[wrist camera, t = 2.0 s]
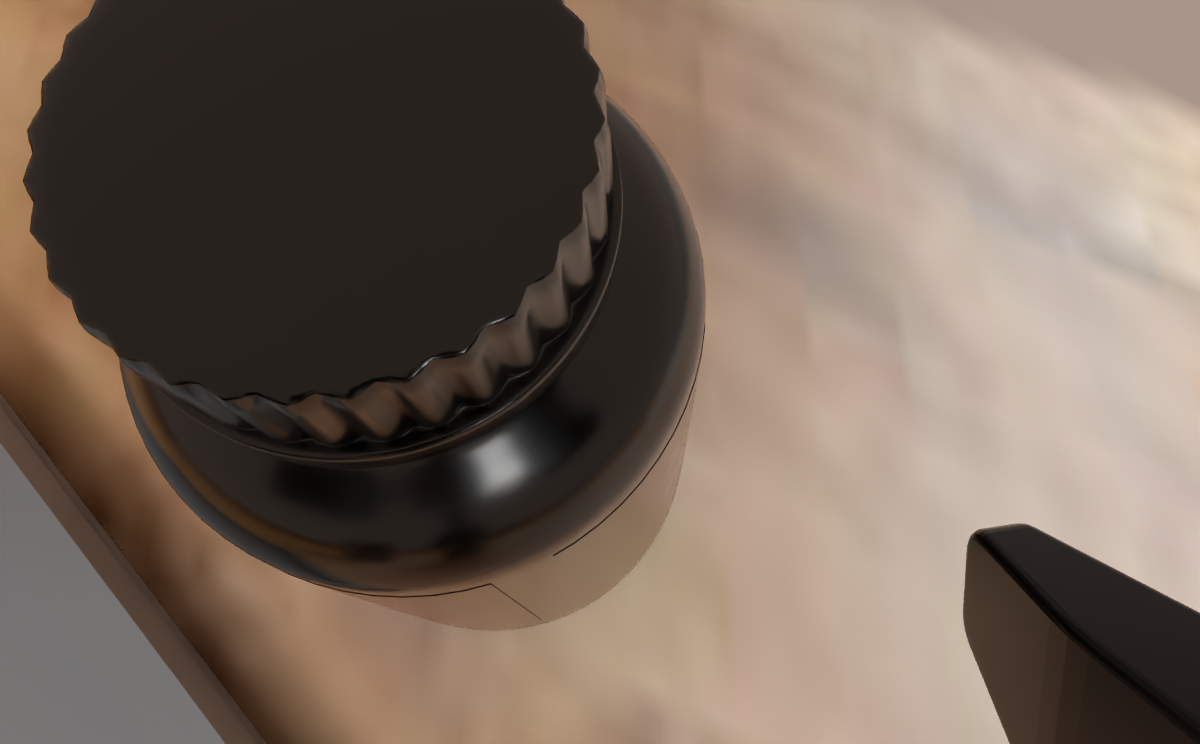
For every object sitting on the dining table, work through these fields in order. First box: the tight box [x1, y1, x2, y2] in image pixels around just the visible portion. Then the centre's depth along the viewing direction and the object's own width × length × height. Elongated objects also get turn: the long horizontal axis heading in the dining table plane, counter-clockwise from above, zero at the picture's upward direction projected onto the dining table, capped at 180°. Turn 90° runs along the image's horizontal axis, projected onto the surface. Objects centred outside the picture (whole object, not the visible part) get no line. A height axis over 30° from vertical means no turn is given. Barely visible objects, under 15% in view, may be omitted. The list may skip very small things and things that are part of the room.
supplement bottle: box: [23, 0, 705, 630], centre depth 14 cm, size 7×7×12 cm
